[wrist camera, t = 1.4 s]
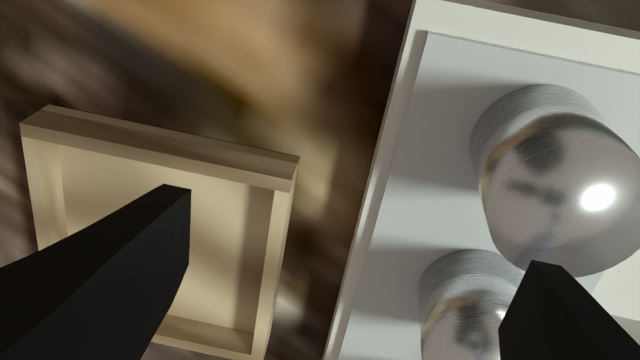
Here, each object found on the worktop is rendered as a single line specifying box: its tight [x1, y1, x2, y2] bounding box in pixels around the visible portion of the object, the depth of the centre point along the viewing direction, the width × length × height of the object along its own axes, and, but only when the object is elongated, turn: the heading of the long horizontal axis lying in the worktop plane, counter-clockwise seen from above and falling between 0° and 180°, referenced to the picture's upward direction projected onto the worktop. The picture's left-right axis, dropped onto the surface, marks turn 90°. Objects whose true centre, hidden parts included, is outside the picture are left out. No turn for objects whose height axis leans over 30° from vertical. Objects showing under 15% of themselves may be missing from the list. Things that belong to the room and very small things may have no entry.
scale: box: [322, 0, 640, 360], centre depth 19 cm, size 22×13×8 cm, turn 171°
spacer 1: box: [418, 249, 523, 360], centre depth 19 cm, size 4×4×4 cm
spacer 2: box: [469, 84, 640, 278], centre depth 16 cm, size 4×4×4 cm
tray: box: [19, 104, 300, 360], centre depth 24 cm, size 11×11×2 cm
